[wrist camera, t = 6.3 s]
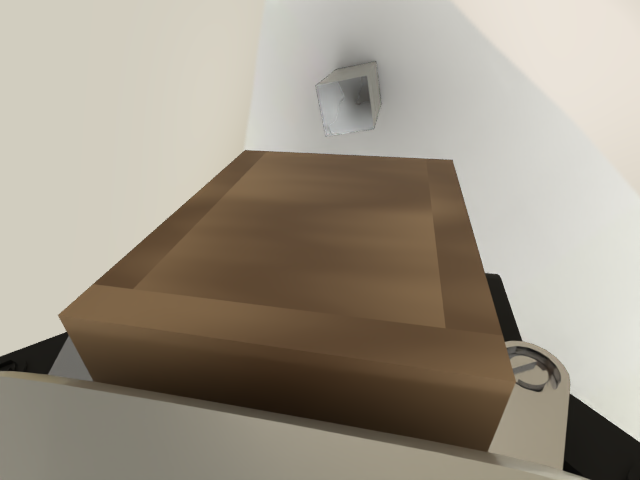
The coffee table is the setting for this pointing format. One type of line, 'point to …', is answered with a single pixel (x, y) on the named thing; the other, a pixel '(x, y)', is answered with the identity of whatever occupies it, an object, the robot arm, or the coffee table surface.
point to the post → (350, 99)
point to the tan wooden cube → (311, 300)
